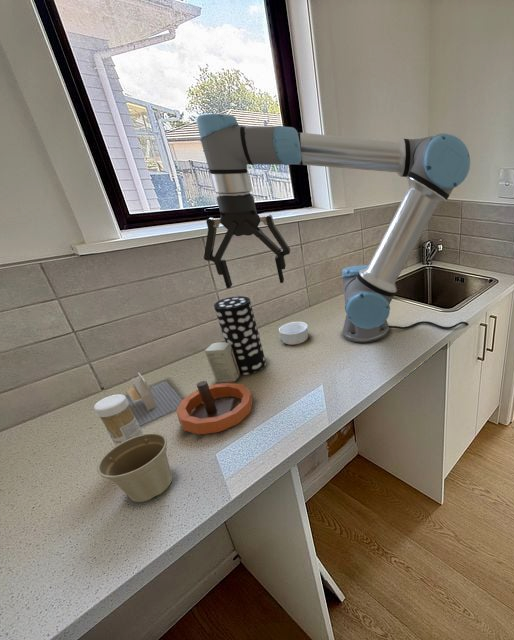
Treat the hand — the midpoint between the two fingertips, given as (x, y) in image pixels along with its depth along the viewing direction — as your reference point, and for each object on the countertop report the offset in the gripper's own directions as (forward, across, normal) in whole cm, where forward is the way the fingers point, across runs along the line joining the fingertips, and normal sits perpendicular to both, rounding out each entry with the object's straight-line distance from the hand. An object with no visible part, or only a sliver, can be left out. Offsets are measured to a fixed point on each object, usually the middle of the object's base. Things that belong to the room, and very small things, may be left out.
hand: (256, 283), depth 86 cm
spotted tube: (+25, +7, -1) cm, 26 cm away
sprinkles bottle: (+25, +24, +26) cm, 43 cm away
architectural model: (+25, +28, +9) cm, 39 cm away
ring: (+24, +11, +18) cm, 32 cm away
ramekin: (+25, -5, -14) cm, 29 cm away
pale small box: (+25, +12, +3) cm, 28 cm away
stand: (+25, +12, +18) cm, 33 cm away
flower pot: (+25, +18, +36) cm, 47 cm away
